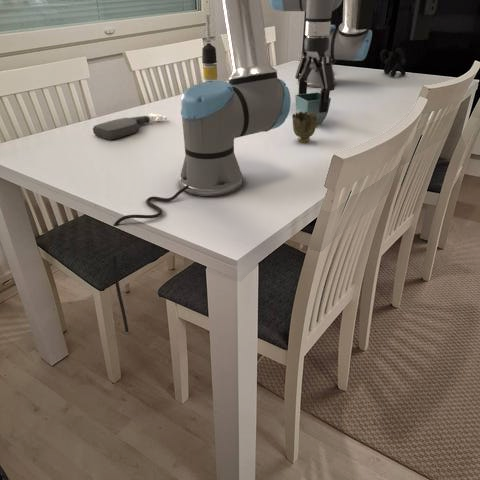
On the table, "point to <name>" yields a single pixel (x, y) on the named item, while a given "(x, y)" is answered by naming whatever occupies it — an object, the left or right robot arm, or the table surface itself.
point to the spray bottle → (123, 126)
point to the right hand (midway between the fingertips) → (312, 107)
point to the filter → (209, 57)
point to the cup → (304, 125)
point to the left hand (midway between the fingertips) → (388, 34)
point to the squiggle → (393, 62)
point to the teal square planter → (310, 105)
